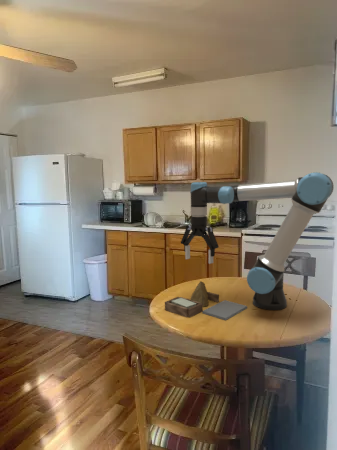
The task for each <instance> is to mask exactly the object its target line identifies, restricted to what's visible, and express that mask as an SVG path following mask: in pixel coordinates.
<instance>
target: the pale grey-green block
mask: <svg viewBox="0 0 337 450" xmlns="http://www.w3.org/2000/svg"><path fill="white" fill-rule="evenodd" d="M183 298H184V297H183ZM183 298H179V299H176V300H173V301H171V303H172V304H175V305H178V306H182V307H185V308H188V309H189V308H191V307H193V306H195V305H196V303H194V302H191V301H188V300H185V299H183Z"/></svg>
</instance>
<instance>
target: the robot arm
mask: <svg viewBox="0 0 337 450" xmlns="http://www.w3.org/2000/svg"><path fill="white" fill-rule="evenodd" d="M333 182H334V181H332V179H331V177H330V176H328V174H325V173H321V172H317V171H316V172H311V173H308V174H306V175H304V176H302V177H299V176H298V177H297V178H296V179H295V180H294V179H293V180H292V179H291V180H283V181H272V182H270V181H269V182H258V183H248V184H246V183H245V184H237V185H227V186H226V185H224V186H223V185H220V186H208V183H207V182H206V181H204V182H203V181H202V182H201V181H200V182H199V181H197V182H194V181H193V182H192V183H191V184H190V216H191V217H190V224H188V225H185V231H184V233H183V234H182V235H183V236H182V238H181V240H180V244H181V245H182V244H183V251H184V253H185V254H184V257H185V259H184V260H189V259H191V245H190V243H191V242H192V240H193V239H194V238H195V237H201V238H203V240H204V241H205V243H206V244H207V246H208V248H209V249H208V264H209V265H210V264H214V257H215V255H216V249H218V248H220V246H219V244H218V241H217V238H216V236H215V234H214V228H213V227H212V226H210V227H209V226H208V227H207V224H208V217H207V216H208V204H223V205H226V204H227V205H228V204H232V203H233V202H243V201H261V200H262V201H264V200H278V199H291V200H290V201H291V202H292V205H291V207H290V209H289V211H288V213H287V214H286V216H285V217H284V219H283V221H282V223H281V225H280V226H279V228H278V230H277V232H276V233H275V235H274V237H273V239H272V241H271V242H270V244H269V246H268V248H267V249H266V251H265V253H264V254H261V255H258V256H257V259H256V261H255V263H254V265H253V267H252V268H251V269H250V270H249V271H248V272H247V277H246V282H247V284H248V286H249V288H250V289H251V290H252V291H253V292H254V295H253V297H252V304H253V306H255V307H257V308H259V309H262V310H269V311H278V310H283V309H285V308H287V305H288V303H287V297H286V295H285V292H284V272H285V263H286V261H287V260H288V258H289V257H290V255H291V253H292V251H293V249H294V248H295V246H296V244H297V243H298V241H299V239H300V238H301V236H302V235H303V233H304V231H305V229H306V228H307V226H308V224H309V223H310V221H311V219H312V217H313V216H314V215H317V214H320V212H321V211H322V208H323V207H324V205H325V204H326V202H327V201H328V200H329V198H330V197H331V196H332V194H333V192H334V183H333Z"/></svg>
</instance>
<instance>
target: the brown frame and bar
mask: <svg viewBox="0 0 337 450" xmlns="http://www.w3.org/2000/svg"><path fill="white" fill-rule="evenodd" d="M207 295H208V301H211V302H216V303H220V294H217V293H213V292H210V291H207ZM179 298H183V299H185V300H188V301H191V302H194V303H196V305H195V306H193V307H191V308H189V309H188V308H185V307H182V306H178V305H175V304H172V303H171V301H173V300H176V299H179ZM190 299H191V298H185V297H183V296H176V297H174V298H171V299H168V300H166V301H164V310H165V311H167V312H170V313H173V314H176V315H179V316H182V317H185V318H192V317H194V316H196V315H198V314H200V313H202V311H204V310H203V307H204V306H203V304H202V303H200V302H197V301H193V300H190Z"/></svg>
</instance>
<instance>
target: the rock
mask: <svg viewBox="0 0 337 450" xmlns="http://www.w3.org/2000/svg"><path fill="white" fill-rule="evenodd" d="M207 292H208V290H207V287H206V284H205V282H204V281H199V283H198V284H197V285H196V287H195V289H194V291H193V292H192V294H191V296H190V298H189V299H190V300H193V301H197V302H200V303H202V304H203V307H208V306H209V300H208V295H207Z"/></svg>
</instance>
